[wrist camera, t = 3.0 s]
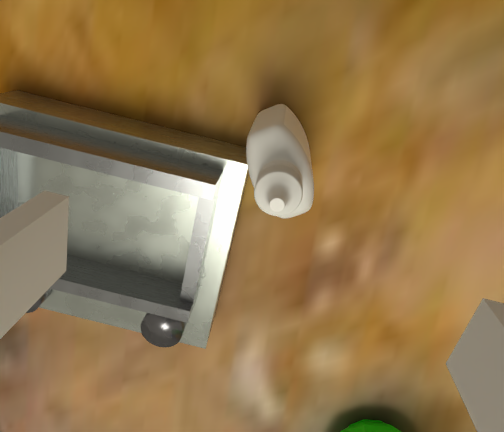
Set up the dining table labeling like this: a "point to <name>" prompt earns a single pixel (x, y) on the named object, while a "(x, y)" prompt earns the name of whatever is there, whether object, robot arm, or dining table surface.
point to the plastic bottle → (370, 427)
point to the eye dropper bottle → (280, 163)
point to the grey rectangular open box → (127, 213)
